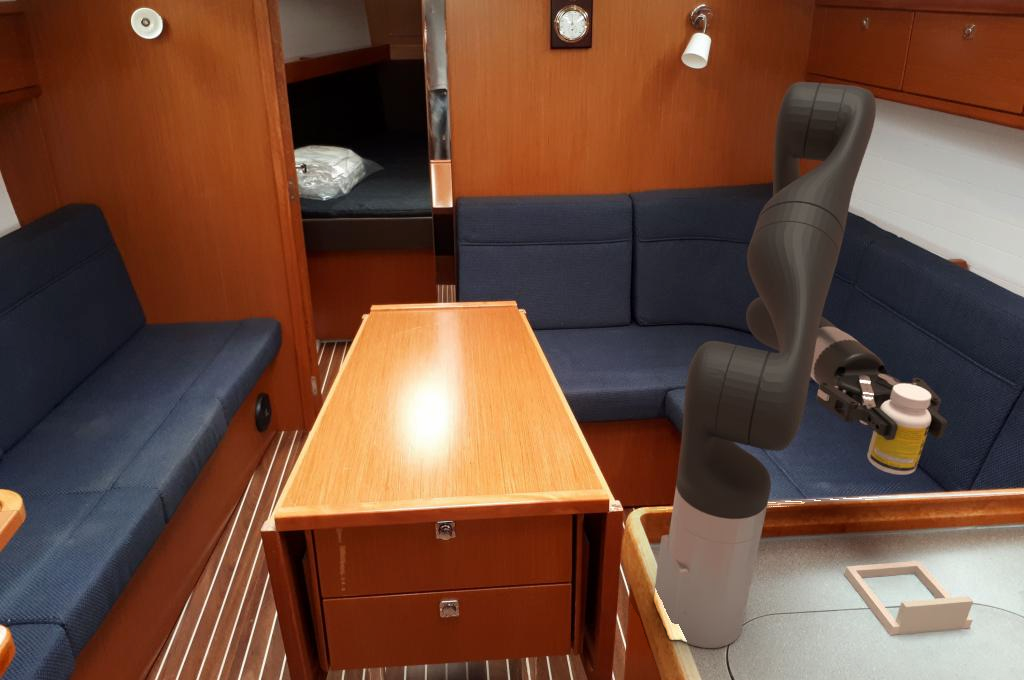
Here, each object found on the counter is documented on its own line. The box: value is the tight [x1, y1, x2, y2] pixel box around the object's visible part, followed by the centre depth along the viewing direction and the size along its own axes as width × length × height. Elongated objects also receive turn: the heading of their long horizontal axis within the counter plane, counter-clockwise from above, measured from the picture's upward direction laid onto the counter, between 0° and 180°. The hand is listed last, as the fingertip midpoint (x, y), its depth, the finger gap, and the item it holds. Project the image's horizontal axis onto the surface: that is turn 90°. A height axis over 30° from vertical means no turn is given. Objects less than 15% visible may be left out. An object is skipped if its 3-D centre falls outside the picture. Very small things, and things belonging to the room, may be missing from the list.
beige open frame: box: [843, 560, 974, 636], centre depth 86 cm, size 10×10×4 cm
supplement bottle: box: [867, 384, 931, 476], centre depth 86 cm, size 5×5×10 cm
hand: (917, 431), depth 83 cm, fingers closed on supplement bottle, 5 cm apart
